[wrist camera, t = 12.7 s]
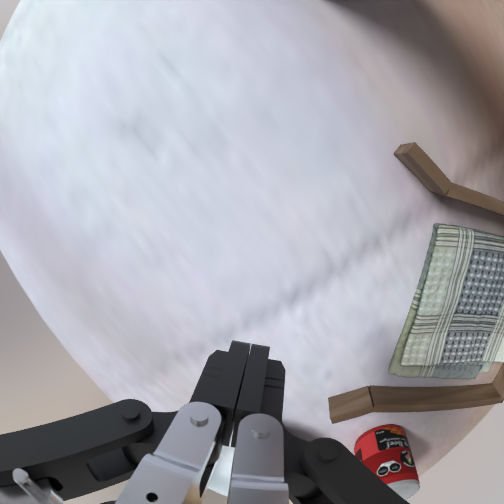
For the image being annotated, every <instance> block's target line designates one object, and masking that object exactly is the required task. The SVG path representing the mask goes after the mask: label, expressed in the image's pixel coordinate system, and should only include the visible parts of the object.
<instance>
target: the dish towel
mask: <svg viewBox="0 0 504 504" xmlns="http://www.w3.org/2000/svg"><path fill="white" fill-rule="evenodd" d="M493 362H504V236H499V235H495V234H491V233H487V232H483V231H479V230H475V229H469V228H465V227H460V226H455V225H446V224H439V223H436V224H434V225H433V233H432V237H431V241H430V244H429V248H428V252H427V256H426V260H425V263H424V267H423V270H422V274H421V277H420V280H419V283H418V286H417V289H416V292H415V295H414V298H413V301H412V304H411V307H410V310H409V313H408V316H407V319H406V322H405V325H404V327H403V331H402V333H401V335H400V338H399V340H398V343H397V346H396V349H395V351H394V355H393V358H392V361H391V364H390V367H389V373H390V374H394V375H397V376H404V377H437V378H445V379H446V378H461V379H472V378H474V379H475V377H476V375H477V374H478V373H482V372H485V373H487V372H489V371H490V368H491V366H492V363H493Z"/></svg>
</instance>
